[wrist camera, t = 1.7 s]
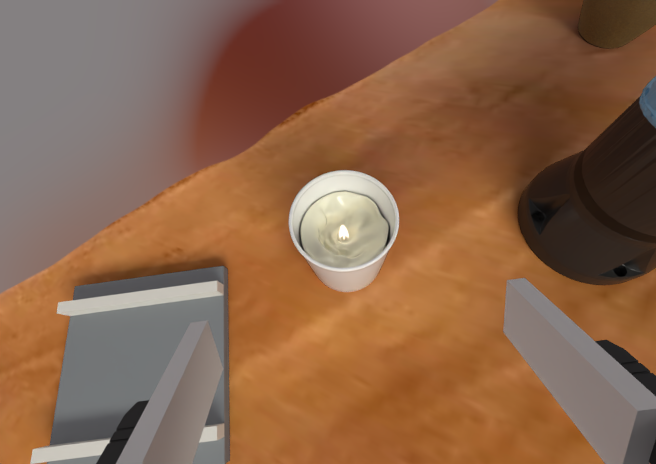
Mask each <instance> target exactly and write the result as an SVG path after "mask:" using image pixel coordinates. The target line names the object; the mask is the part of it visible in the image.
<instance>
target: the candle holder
mask: <svg viewBox="0 0 656 464" xmlns="http://www.w3.org/2000/svg"><path fill="white" fill-rule="evenodd" d="M398 228H399V212H398V208H397V205H396V202H395V200H394V198H393V196H392V194H391V193H390V192H389V190H388V189H387V188H386V187H385V186H384V185H383V184H382V183H381V182H379V181H378V180H377V179H375V178H373V177H371V176H369V175H367V174H364V173H361V172H357V171H351V170H339V171H332V172H328V173H325V174H323V175H320V176H318V177H316V178H314V179H313V180H311V181H310V182H309V183H307V184H306V185H305V186H304V187H303V188H302V189H301V190H300V191H299V193H298V194H297V196H296V197H295V199H294V201H293V203H292V206H291V209H290V213H289V230H290V235H291V238H292V240H293V242H294V244H295V246H296V248H297V249H298V251H299V252H300V253H301V254H302V255H303V257H304V258H305V260H306V261H307V263H308V264H309V266H310V267H311V268H312V270H313V271H314V273H315V274H316V276H317V277H318V278H319V279H320V281H321V282H322V283H324V284H325V285H326V286H328V287H329V288H331V289H334V290H336V291H340V292H353V291H358V290H360V289H363V288H365V287H366V286H368V285H369V284H370V283H371V282H372V281H373V280H374V279H375V278H376V277H377V275H378V273H379V272H380V270H381V267H382V265H383V263H384V261H385V259H386V256H387V254H388V252H389V250H390V248H391V246H392V245H393V243H394V241H395V239H396V236H397V233H398Z"/></svg>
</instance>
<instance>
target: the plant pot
mask: <svg viewBox="0 0 656 464" xmlns="http://www.w3.org/2000/svg"><path fill="white" fill-rule="evenodd" d="M654 25H656V0H584V1H583V5H582V9H581V14H580V18H579V24H578V30H579V33H580V35H581V36H582V37H583V38H584V39H585V40H586V41H587V42H589V43H591V44H593V45H595V46H598V47H602V48H617V47H621V46H623V45H625V44H627V43H628V42H630V41H632V40H633V39H635V38H636V37H638V36H639V35H641V34H643V33H644V32H646V31H647V30H649V29H650V28H651V27H653V26H654Z"/></svg>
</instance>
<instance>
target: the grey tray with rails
mask: <svg viewBox="0 0 656 464" xmlns="http://www.w3.org/2000/svg"><path fill="white" fill-rule="evenodd" d="M57 313H58V314H63V315H68V316H70V321H69V328H68V334H67V340H66V346H65V353H64V359H63V365H62V372H61V378H60V384H59V390H58V397H57V403H56V409H55V416H54V422H53V428H52V434H51V441H50V445H49V446H45V447H41V448H36V449H33V452H32V457H31V463H30V464H34V463H41V462H47V464H96V463H97V461H98V459H99V458H100V456H101V454H102V453H103V451H104V449H105V447H106V446H107V444H109V442H110V439H111V437H112V435H113V434H114V432H116V428H117V427H118V425H119V423H120V422H121V420H122V418H123V416H124V415H125V414H126V413H127V412H128V411H129V410H130V409H131V408H132V407H133V406H134V405H135V404H136V403H137V402H139V401H147V400H150V398H151V396H152V394H153V393H154V391H155V389H156V387H157V385H158V383H159V381H160V379H161V377H162V376H163V374H164V372H165V370H166V368H167V366H168V364H169V362H170V360H171V359H172V357H173V355H174V353H175V351H176V349H177V347H178V345H179V343H180V342H181V340H182V338H183V336H184V334H185V332H186V330H187V328H188V326H189V325H190V323H192V322H199V321H207V320H208V323H209V326H210V329H211V332H212V336H213V339H214V342H215V345H216V348H217V351H218V354H219V357H220V361H221V364H222V367H223V371H222V374H221V377H220V380H219V383H218V386H217V389H216V392H215V395H214V398H213V401H212V404H211V407H210V410H209V414H208V417H207V420H206V423H205V426H204V429H203V432H202V435H201V438H200V441H199V444H198V447H197V450H196V453H195V456H194V460H193V463H192V464H226V463H227V462H228V461H230V432H229V337H228V269H227V268H226V267H224V266H218V267H211V268H204V269H197V270H190V271H182V272H175V273H168V274H161V275H154V276H146V277H139V278H132V279H125V280H118V281H110V282H103V283H96V284H89V285H82V286H75V290H74V296H73V300H72V301H65V302H59V303H58V308H57Z"/></svg>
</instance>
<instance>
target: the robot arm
mask: <svg viewBox="0 0 656 464" xmlns="http://www.w3.org/2000/svg"><path fill="white" fill-rule="evenodd" d="M518 219H519V224H520V228H521V231H522V234H523V236H524V238H525V240H526V242H527V243H528V245H529V246H530V248H531V249H532V251H533V252H534V253H535V254H536V255H537V256H538V257H539V258H540V259H541V260H542V261H543V262H544V263H545V264H546V265H548V266H549V267H550V268H552V269H553V270H555V271H556V272H558V273H560V274H562V275H564V276H566V277H568V278H571V279H573V280H576V281H579V282H583V283H587V284H594V285H613V284H619V283H623V282H626V281H629V280H632V279H634V278H637V277H640V276H642V275H644V274H647V273H648V272H650V271H651V270H653V269H654V268H656V76H655V77H654V78H653V79H652V80H651V81H650V82H649V83H648V84H647V86H646V87H645V88H644V89H643V93H642V94H641V96H640V97H639V98H638V99H637V100H636V101H635V102H634V103H633V104H632V105H631V106H630V107H628V108H627V109H626V110H625V111H624V112H623V113H622V114H621V115H620V116H619V117H618V118H617V119H616V120H615V121H614V122H613V123H612V124H611V125H610V126H609V127H608V128H607V129H606V130H605V131H604V132H603V133H602V134H600V135H599V136H598V137H597V138H596V139H595V140H594V141H593V142H592V143H591V144H590V145H589V146H588V147H587V148H586V149H585V150H584V151H581V152H579V153H577V154H574V155H572V156H570V157H568V158H565V159H563V160H561V161H558V162H556V163H554V164H552V165H550V166H548V167H547V168H545V169H544V170H543V171H541V172H540V173H539V174H538V175H537V176H536V177H535V178H534V179H533V180H532V181H531V182H530V184H529V185H528V186H527V187H526V189H525V190H524V192H523V194H522V196H521V199H520V202H519V207H518ZM503 332H504V333H505V335H506V336H507V337H508V339H509V340H510V341H511V342H512V344H513V345H514V346H515V348H516V349H517V350H518V352H519V353H520V354H521V355H522V357H523V358H524V359H525V361H526V362H527V363H528V364H529V366H530V367H531V368H532V370H533V371H534V372H535V373H536V375H537V376H538V377H539V379H540V380H541V381H542V383H543V384H544V385H545V386H546V388H547V389H548V390H549V392H550V393H551V394H552V395H553V397H554V398H555V399H556V401H557V402H558V403H559V404H560V406H561V407H562V408H563V410H564V411H565V412H566V414H567V415H568V416H569V417H570V419H571V420H572V421H573V423H574V424H575V425H576V426H577V428H578V429H579V430H580V432H581V433H582V434H583V435H584V437H585V438H586V439H587V441H588V442H589V443H590V445H591V446H592V447H593V448H594V450H595V451H596V452H597V454H598V455H599V456H600V457H601V459H602V460H603V461H604V463H605V464H649V463H651V464H656V376H655V375H654V374H653V373H650V371H649V370H648V369H647V368H646V367H645V366H644V365H642V364H641V363H638V360H636V359H635V358H634V357H633V356H632V355H630V354H629V353H628V352H627V351H626V350H625V349H623V348H621V347H619V346H617V345H615V344H613V343H611V342H609V341H608V340H601V341H594V340H593V339H592V338H591V337H589V336H588V335H587V334H586V333H585V332H584V331H583V330H582V329H581V328H579V327H578V326H577V325H576V324H575V323H574V322H573V321H572V320H571V319H570V318H568V317H567V316H566V315H565V314H564V313H563V312H562V311H561V310H560V309H558V308H557V307H556V306H555V305H554V304H553V303H552V302H551V301H550V300H549V299H547V298H546V297H545V296H544V295H543V294H542V293H541V292H540V291H539V290H537V289H536V288H535V287H534V286H533V285H532V284H531V283H530V282H529V281H527V280H526V279H525V278H521V279H514V280H507V287H506V302H505V316H504V330H503ZM222 371H223V367H222V364H221V361H220V357H219V354H218V351H217V348H216V345H215V342H214V339H213V336H212V332H211V329H210V326H209V323H208V320H207V321H199V322H192V323H190V325H189V326H188V328H187V330H186V332H185V334H184V336H183V338H182V340H181V342H180V343H179V345H178V347H177V349H176V351H175V353H174V355H173V357H172V359H171V360H170V362H169V364H168V366H167V368H166V370H165V372H164V374H163V376H162V377H161V379H160V381H159V383H158V385H157V387H156V389H155V391H154V393H153V394H152V396H151V398H150V400H147V401H139V402H137V403H136V404H135V405H134V406H133V407H132V408H131V409H130V410H129V411H128V412H127V413H126V414H125V415H124V416H123V418H122V420H121V422H120V423H119V425H118V427H117V428H116V432H114V434H113V435H112V437H111V439H110V442H109V444H107V446H106V447H105V449H104V451H103V453H102V454H101V456H100V458H99V459H98V461H97V463H96V464H192V463H193V460H194V456H195V453H196V450H197V447H198V444H199V441H200V438H201V435H202V432H203V429H204V426H205V423H206V420H207V417H208V414H209V410H210V407H211V404H212V401H213V398H214V395H215V392H216V389H217V386H218V383H219V380H220V377H221V374H222Z"/></svg>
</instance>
